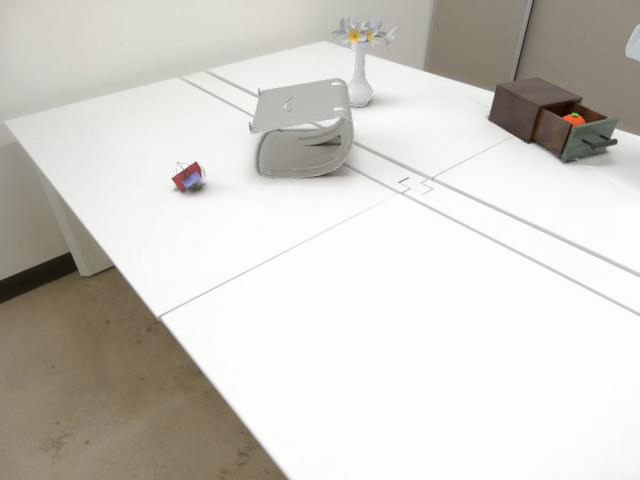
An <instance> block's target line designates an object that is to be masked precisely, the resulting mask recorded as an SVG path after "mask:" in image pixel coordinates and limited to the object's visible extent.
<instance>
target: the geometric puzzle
mask: <svg viewBox="0 0 640 480" xmlns="http://www.w3.org/2000/svg"><path fill="white" fill-rule="evenodd" d="M180 163H181V161H177V163H176V166H178V165H179V167H181V169H182V170H181V171H180V172H179V173H177V172H178V170H175V169H174V171H173V172H175V171H176V172H175V175H173V176H172V177H171V178H170V179H171V180H172V181H173V183H174V184H175V185H176V187H177V188H178V190H179V191H180V192H184V191H186V189H189V188H190V187H191V186H193V185H194V186H195V187H196V188H197V189H196V190H197V192H200V190H201V187H202V183H200V185H199V187H197V185H196V183H197V182H198V181H200V180H201V181H203V178H205V177H207V172H206V169H205V168H204V166H203V165H202V164H200V163H199V162H198V161H197V160H195V161H193V163H191V164H188V163H186V165H188V166H187V167H186V168H184V167H183V166H182V165H181V164H180ZM182 164H183V165H185V163H184V162H182ZM191 191H194V189H192V188H191Z"/></svg>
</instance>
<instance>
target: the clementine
mask: <svg viewBox="0 0 640 480" xmlns="http://www.w3.org/2000/svg"><path fill="white" fill-rule="evenodd" d="M563 119H565V120H567V121H569V122H571V123H573V126H576V125H580V124H585V123H586V122H585V120H584V119H583V118H582V117H581V116H579V115H578V114H577V113H572V114H570V115H567V116H564V117H563ZM573 126H572V128H573ZM572 128H571V131H572ZM571 131H570V133H571ZM569 136H570V134H569ZM568 139H569V137H568ZM568 139H567V141H568Z"/></svg>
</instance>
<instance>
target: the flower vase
mask: <svg viewBox="0 0 640 480" xmlns="http://www.w3.org/2000/svg"><path fill="white" fill-rule="evenodd" d="M350 19H351V17H350V16H349V17H347V19H346V20H345V18H344V17H342V18H341V19H340V21H339V28H335V29H334V30H333V31H332V32H331V35H335V36H334V37H333V41H335V40H337V39H338V38H340V37H341V39H340V43H341V44H348V43H350V49H351V51H353V52H354V56H355V57H354V68H353V74H352V77H351V80H350V81H349V83H346V84H347V87H348V92H349V99H350V107H354V108H362V107H365V106H367V105H368V103H369V102H370V101H371V100H372V99H373V97H374V90H373V87H372V86H371V84H370V83H369V82H368V80H367V77H366V53H367V48H368V44H369V43H370V45H371V47H372V48H373V49H375V48H376V45H378V46H381V45H382V42H381V40H382V39H384V43H385V45H386V49H387V53H388V54H389V53H390V50H391V44H393V43H395V35H394V34H395V31H396V29H397V27H398V25H395V26H394V27H393V28H392V29H391V30H390V31H389V32H387V31H386V30H384V29H381V28H382V27H383V21H382V19H378V20H377V21H376V22H375V20H374V18H373V17H372V16H368V20H366V21H363V22H362V21H361V18H360V17H359V15H358V14H356V15H354V17H353V20H352V21H353V24H350Z"/></svg>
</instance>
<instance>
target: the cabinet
mask: <svg viewBox="0 0 640 480" xmlns="http://www.w3.org/2000/svg"><path fill="white" fill-rule="evenodd" d="M583 98H584V97H583V96H581V95H578V94H576V93H574V92H571V91H569V90H568V89H565V88H563V87H560V86H558V85H557V84H554V83H551V82H549V81H547V80H545V79H543V78H541V77H539V76H537V77H532V78H524V79H519V80H513V81H508V82H507V81H506V82H501V83H497V84H496V87H495V91H494V95H493V99H492V103H491V107H490V110H489V111H490V112H489V114H488V119H487V120H488V121H489V122H491V123H493V124H495V125H496V126H498V127H499V128H501V129H503V130H504V131H506V132H508V133H509V134H511V135H513V136H514V137H516V138H518V139H519V140H521V141H523V142H524V143H525V144H527V145H528V144H532V143H533V144H534V143H538V142H537V141H536V140H534V139H532V135H533V132H534V128H535V125H536V122H537V119H538V116H539V112H540V109H541V108H545V107H550V106H555V105H560V104H565V103H571V102H578V103H580V104H582V101H583Z"/></svg>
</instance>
